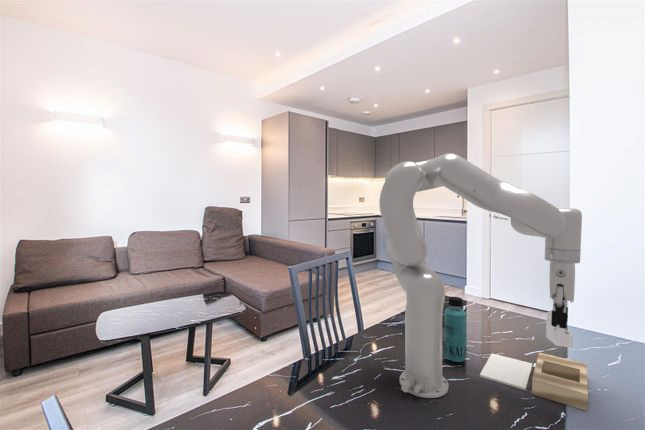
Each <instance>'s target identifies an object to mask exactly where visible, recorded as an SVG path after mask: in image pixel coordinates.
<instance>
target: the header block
mask: <svg viewBox="0 0 645 430" xmlns="http://www.w3.org/2000/svg"><path fill="white" fill-rule="evenodd" d="M535 363H536V364H535V367H534V371H533V374H532V381H531V395H534V396H537V397H540V398H544V399H547V400H550V401H554V402H557V403H560V404H564V405H567V406H571V407H573V408H577V409H580V410H584V411H587V412H588V411H589V386H588V385H589V384H588V367H587V366H588V364H587V363H586V362H581V361H578V360H574V359H573V360H572V359H569V358H564V357H560V356H557V355H552V354H551V355H550V354H547V353H542V352H538V355H537V359H536V362H535Z"/></svg>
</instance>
